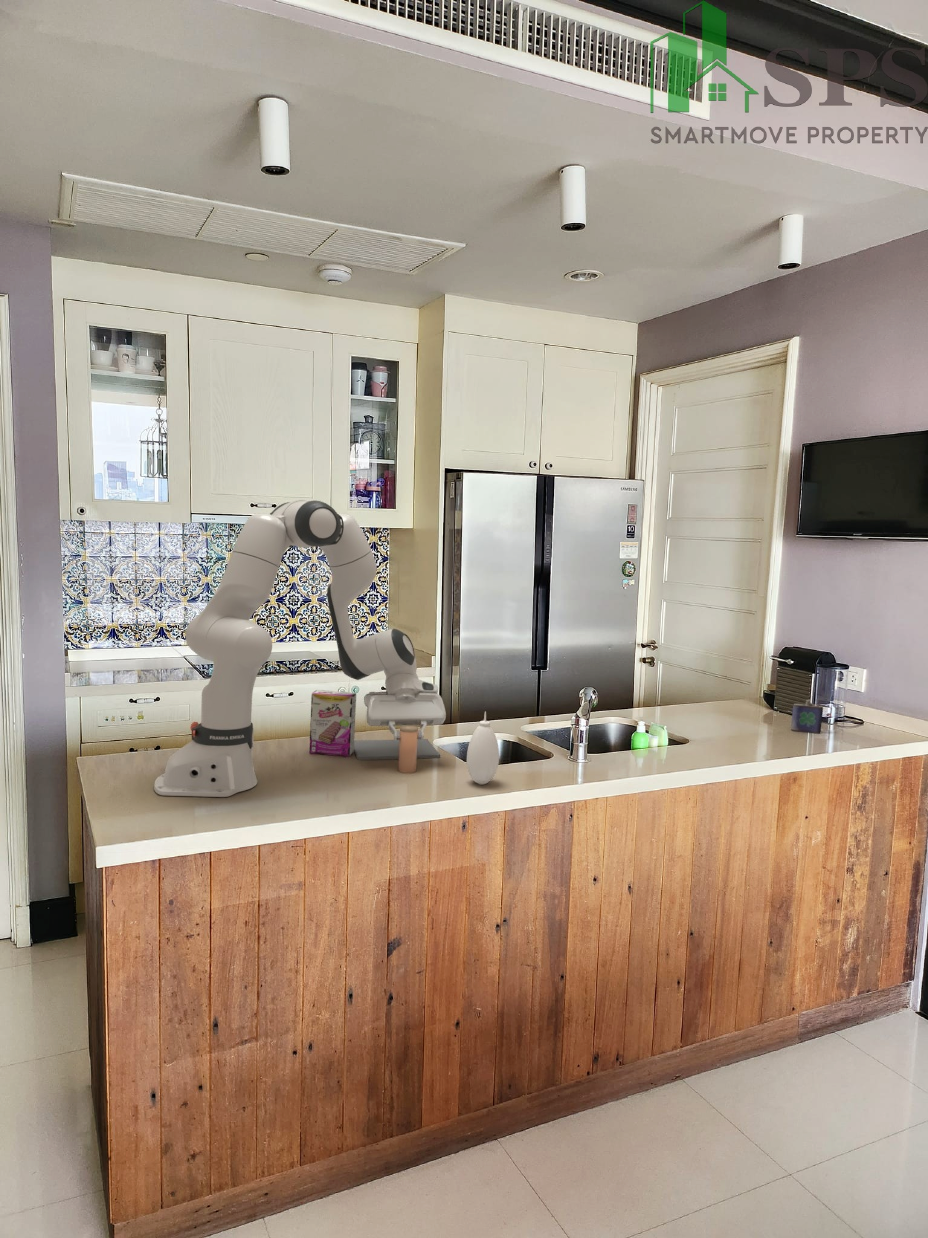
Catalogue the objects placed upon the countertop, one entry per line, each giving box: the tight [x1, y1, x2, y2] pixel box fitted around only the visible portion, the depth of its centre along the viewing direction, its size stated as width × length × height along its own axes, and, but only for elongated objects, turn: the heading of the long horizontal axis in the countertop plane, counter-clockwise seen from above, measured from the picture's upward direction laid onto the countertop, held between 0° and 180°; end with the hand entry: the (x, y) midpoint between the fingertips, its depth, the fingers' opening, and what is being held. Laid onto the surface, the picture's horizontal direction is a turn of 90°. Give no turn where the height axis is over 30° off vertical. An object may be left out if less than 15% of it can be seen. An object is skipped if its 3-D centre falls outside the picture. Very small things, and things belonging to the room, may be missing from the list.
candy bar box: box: [308, 689, 357, 757], centre depth 221 cm, size 11×5×16 cm, turn 84°
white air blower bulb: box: [466, 711, 500, 785], centre depth 202 cm, size 8×8×18 cm
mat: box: [353, 738, 441, 761], centre depth 227 cm, size 22×16×1 cm
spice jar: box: [397, 724, 419, 774], centre depth 209 cm, size 4×4×11 cm
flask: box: [790, 699, 824, 735], centre depth 273 cm, size 9×3×11 cm, turn 76°
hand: (409, 738), depth 208 cm, fingers closed on spice jar, 4 cm apart
